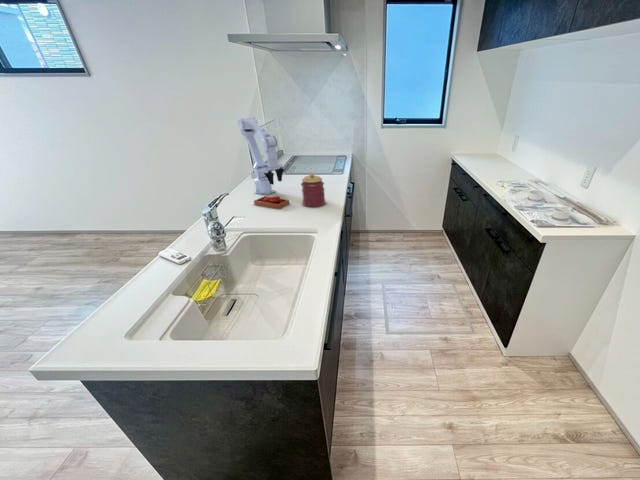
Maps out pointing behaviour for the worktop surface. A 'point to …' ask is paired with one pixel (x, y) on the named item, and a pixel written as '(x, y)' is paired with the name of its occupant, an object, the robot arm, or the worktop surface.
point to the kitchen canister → (313, 191)
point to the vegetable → (272, 200)
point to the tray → (277, 206)
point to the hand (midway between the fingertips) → (275, 182)
